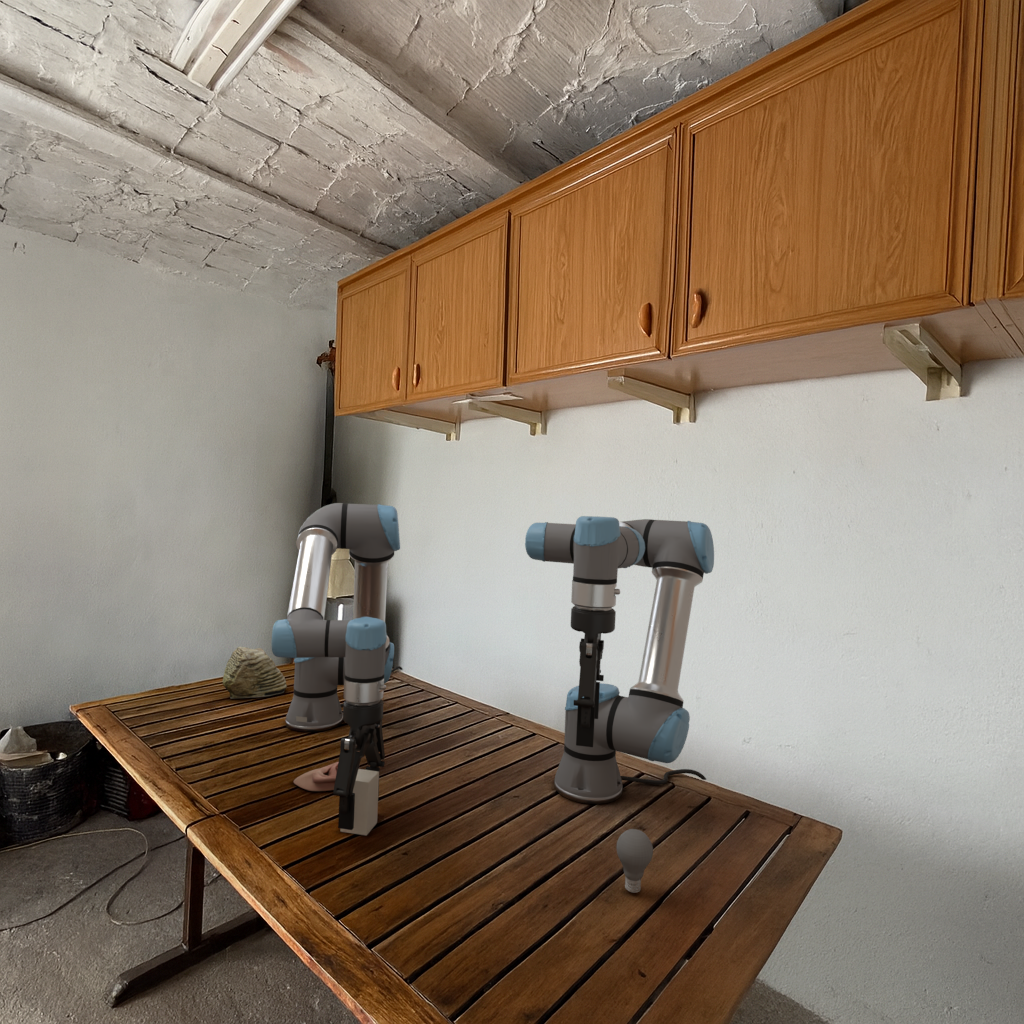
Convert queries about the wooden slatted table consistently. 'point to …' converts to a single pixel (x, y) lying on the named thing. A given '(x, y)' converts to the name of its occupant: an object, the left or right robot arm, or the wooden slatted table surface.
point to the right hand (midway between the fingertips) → (587, 731)
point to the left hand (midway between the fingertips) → (359, 813)
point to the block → (365, 802)
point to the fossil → (252, 674)
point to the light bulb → (634, 857)
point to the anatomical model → (318, 778)
